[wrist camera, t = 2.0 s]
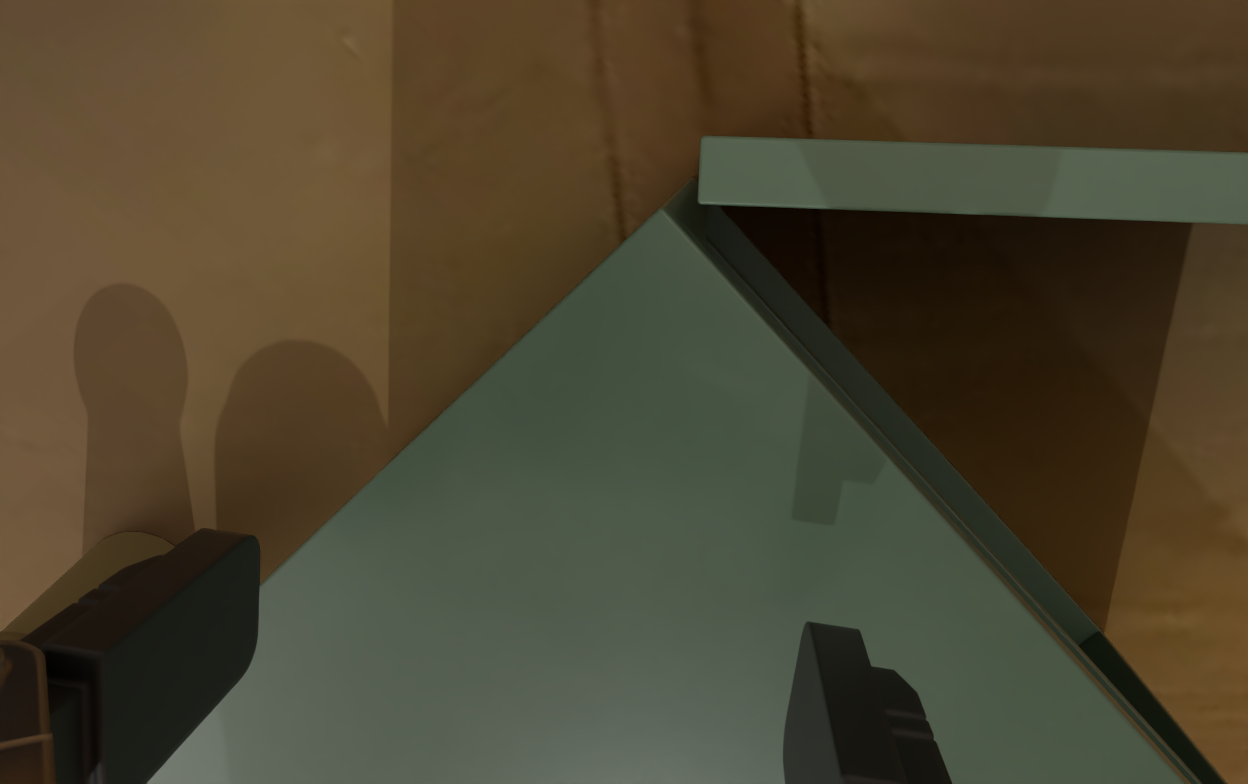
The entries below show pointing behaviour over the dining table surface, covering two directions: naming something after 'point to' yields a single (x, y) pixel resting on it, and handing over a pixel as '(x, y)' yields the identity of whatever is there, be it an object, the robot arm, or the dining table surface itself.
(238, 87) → the dining table surface
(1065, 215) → the door
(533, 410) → the cupboard
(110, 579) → the robot arm
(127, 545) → the pawn
